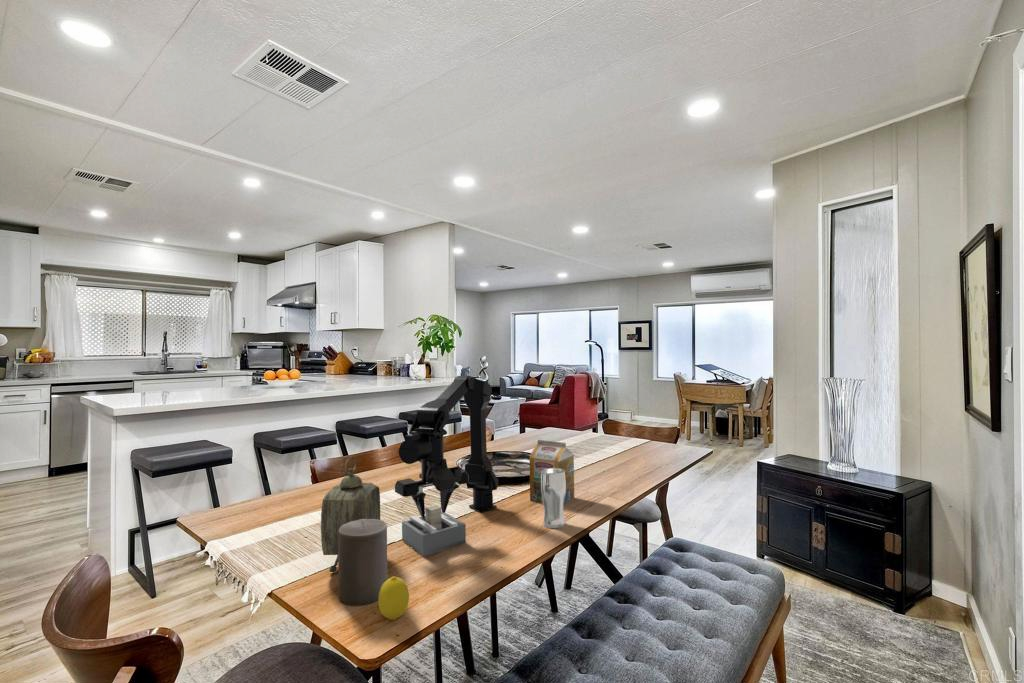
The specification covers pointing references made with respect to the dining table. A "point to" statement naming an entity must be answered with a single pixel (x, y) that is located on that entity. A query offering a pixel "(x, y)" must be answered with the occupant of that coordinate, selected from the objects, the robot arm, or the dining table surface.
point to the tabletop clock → (346, 508)
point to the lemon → (393, 598)
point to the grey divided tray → (433, 534)
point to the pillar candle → (362, 561)
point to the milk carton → (550, 457)
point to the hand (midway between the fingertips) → (433, 515)
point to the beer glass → (553, 496)
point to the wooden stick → (433, 516)
